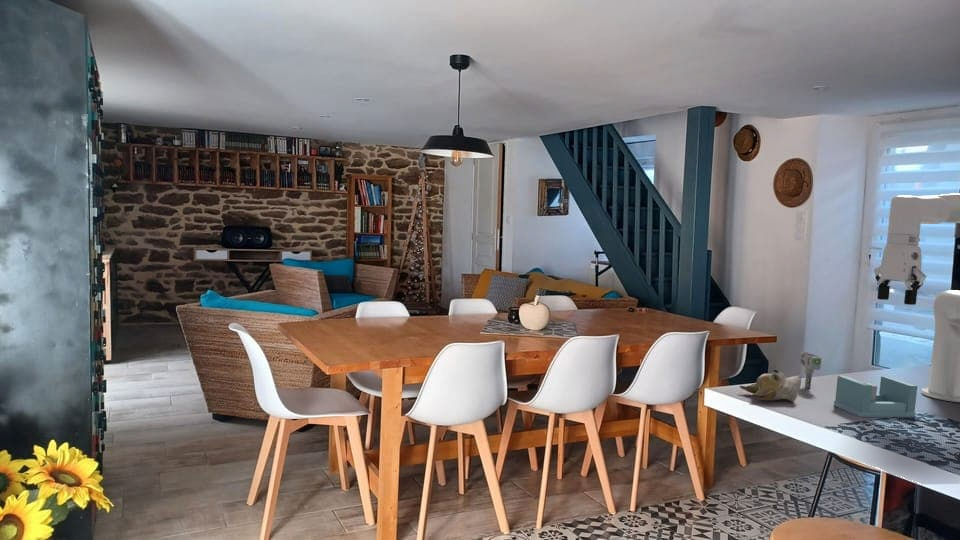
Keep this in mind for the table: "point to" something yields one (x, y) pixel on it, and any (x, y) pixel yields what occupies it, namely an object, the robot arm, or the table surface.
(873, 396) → the brushed grey metal block
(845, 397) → the teal open frame
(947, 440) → the table surface
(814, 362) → the mechanical component
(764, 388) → the ceramic sculpture
